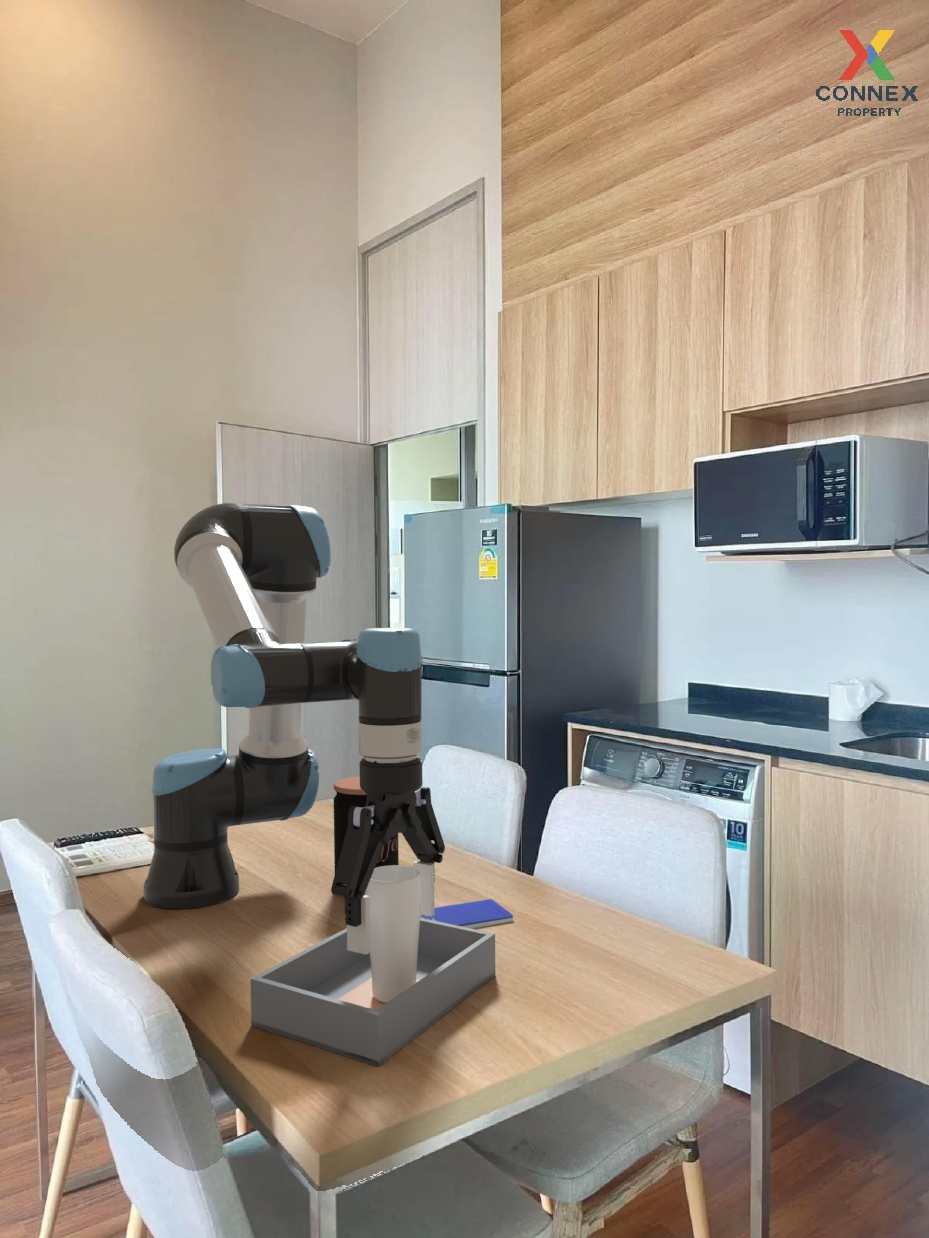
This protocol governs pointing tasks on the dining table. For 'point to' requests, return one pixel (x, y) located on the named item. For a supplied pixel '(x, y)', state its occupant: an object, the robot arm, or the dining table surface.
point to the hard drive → (471, 914)
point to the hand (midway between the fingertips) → (393, 931)
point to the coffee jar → (343, 800)
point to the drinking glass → (394, 929)
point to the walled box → (369, 992)
